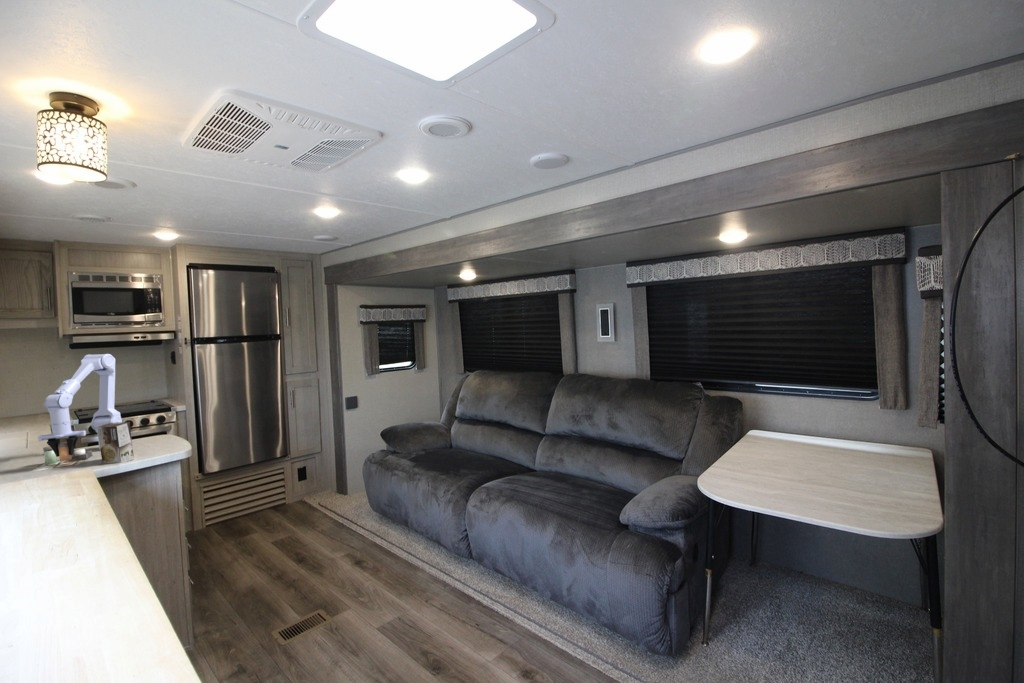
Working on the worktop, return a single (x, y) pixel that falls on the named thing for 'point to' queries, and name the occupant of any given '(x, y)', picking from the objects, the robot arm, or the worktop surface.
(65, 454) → the orange jar
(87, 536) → the worktop surface
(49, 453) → the green jar
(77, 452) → the button
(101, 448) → the coffee box
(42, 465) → the picture board
